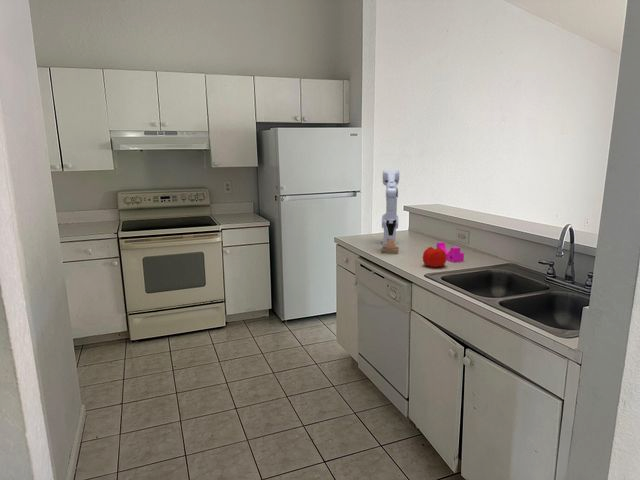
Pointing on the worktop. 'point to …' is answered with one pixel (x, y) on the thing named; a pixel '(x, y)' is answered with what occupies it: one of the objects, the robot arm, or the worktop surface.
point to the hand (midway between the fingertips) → (390, 234)
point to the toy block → (452, 253)
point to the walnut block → (390, 250)
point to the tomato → (434, 257)
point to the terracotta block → (390, 243)
